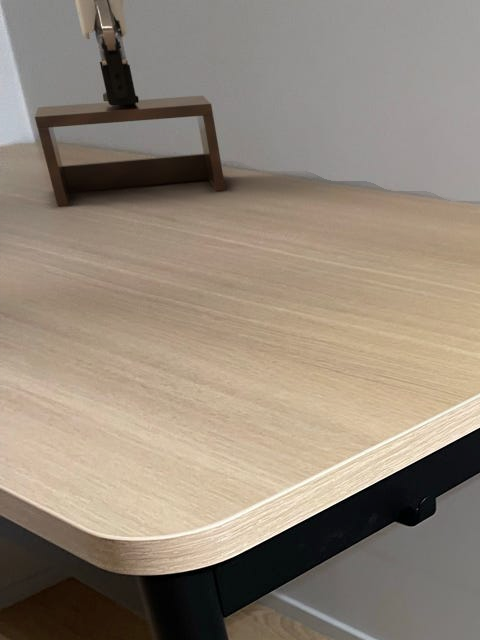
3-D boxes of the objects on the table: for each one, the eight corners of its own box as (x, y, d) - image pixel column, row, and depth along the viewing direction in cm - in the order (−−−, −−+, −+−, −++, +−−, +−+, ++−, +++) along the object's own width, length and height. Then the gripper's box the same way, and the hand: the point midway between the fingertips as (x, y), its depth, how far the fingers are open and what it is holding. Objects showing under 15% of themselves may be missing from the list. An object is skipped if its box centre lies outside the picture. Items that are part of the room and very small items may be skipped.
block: (113, 109, 117) (110, 91, 116) (102, 104, 121) (99, 87, 120) (144, 106, 118) (141, 89, 117) (132, 101, 123) (129, 85, 122)
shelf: (57, 206, 119) (34, 116, 114) (59, 191, 127) (37, 107, 121) (225, 190, 124) (211, 103, 118) (217, 177, 132) (203, 95, 126)
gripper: (49, -78, 115) (89, 96, 126) (45, -85, 102) (90, 111, 112) (116, -80, 117) (150, 92, 127) (121, -87, 104) (158, 106, 114)
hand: (121, 99), depth 120 cm, fingers open, 6 cm apart
